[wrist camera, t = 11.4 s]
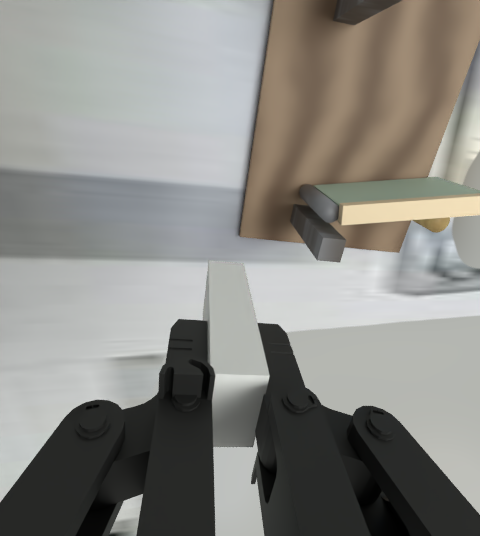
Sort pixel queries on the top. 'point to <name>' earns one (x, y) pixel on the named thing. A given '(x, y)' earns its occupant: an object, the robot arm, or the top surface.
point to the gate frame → (352, 110)
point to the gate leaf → (391, 200)
